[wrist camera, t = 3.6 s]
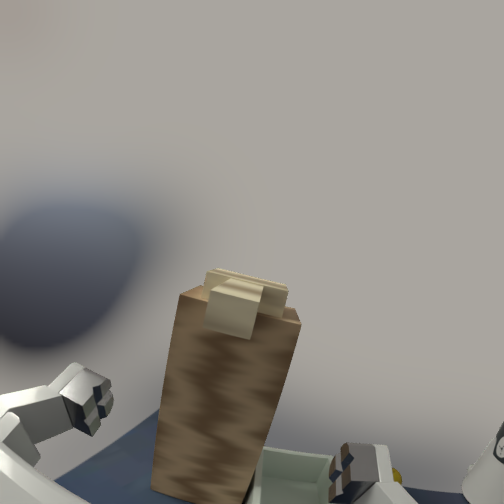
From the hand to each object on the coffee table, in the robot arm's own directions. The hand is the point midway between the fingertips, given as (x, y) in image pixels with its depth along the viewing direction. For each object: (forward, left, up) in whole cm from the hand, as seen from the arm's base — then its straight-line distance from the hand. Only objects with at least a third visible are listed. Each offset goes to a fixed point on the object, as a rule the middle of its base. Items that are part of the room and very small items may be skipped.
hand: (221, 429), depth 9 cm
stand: (+1, -21, -25) cm, 33 cm away
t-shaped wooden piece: (+1, -18, +1) cm, 18 cm away
